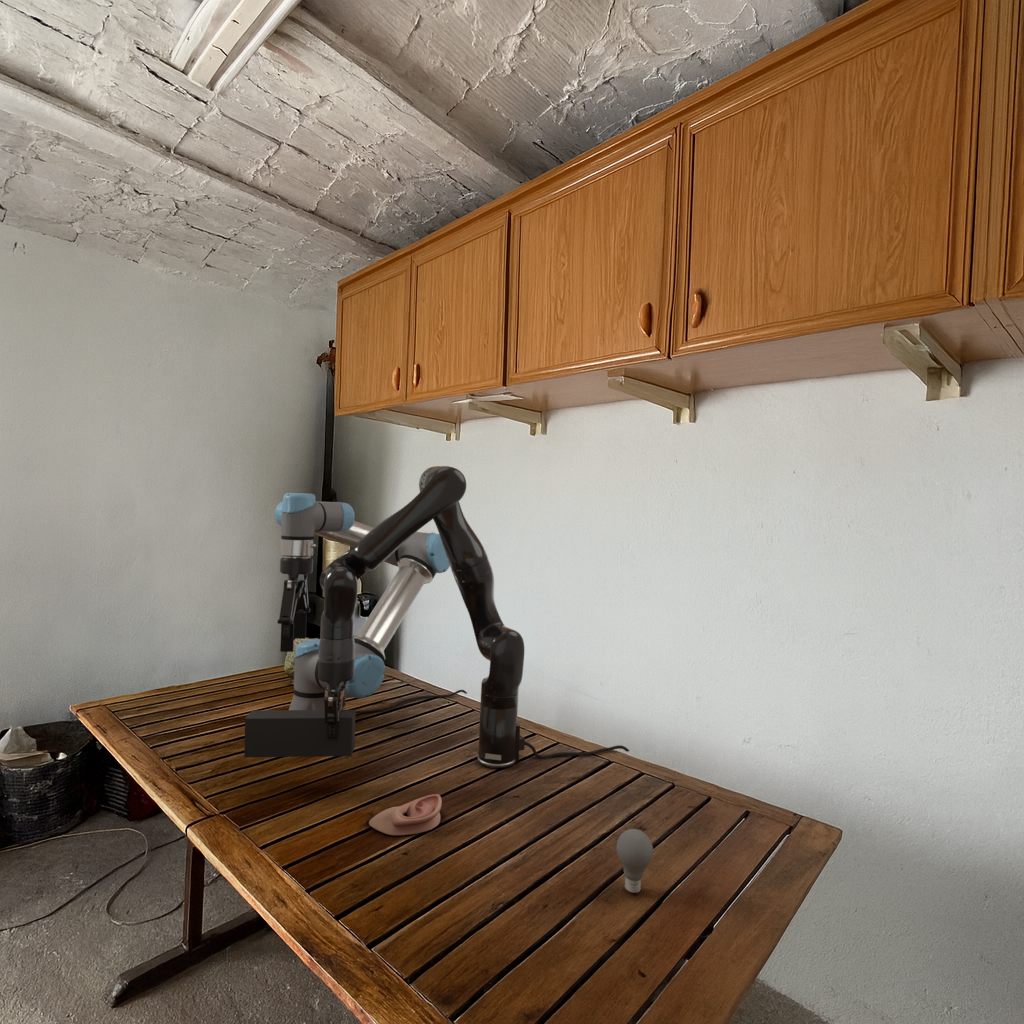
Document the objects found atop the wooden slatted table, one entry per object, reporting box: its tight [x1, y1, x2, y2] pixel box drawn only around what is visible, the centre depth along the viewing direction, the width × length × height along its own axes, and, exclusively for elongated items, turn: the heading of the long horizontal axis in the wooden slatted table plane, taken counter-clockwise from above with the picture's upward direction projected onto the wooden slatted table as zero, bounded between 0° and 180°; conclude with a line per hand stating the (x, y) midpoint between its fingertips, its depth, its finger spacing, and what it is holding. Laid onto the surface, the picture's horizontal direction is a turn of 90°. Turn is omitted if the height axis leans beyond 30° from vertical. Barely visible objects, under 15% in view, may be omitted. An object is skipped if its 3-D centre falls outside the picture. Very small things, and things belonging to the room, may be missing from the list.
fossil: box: [283, 637, 319, 685], centre depth 215 cm, size 9×18×15 cm, turn 132°
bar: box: [243, 709, 356, 758], centre depth 137 cm, size 22×5×8 cm, turn 96°
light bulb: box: [615, 828, 654, 894], centre depth 106 cm, size 6×6×10 cm
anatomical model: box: [368, 793, 443, 836], centre depth 125 cm, size 13×4×12 cm
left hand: (293, 644), depth 153 cm, fingers open, 13 cm apart
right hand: (334, 734), depth 137 cm, fingers closed on bar, 5 cm apart
